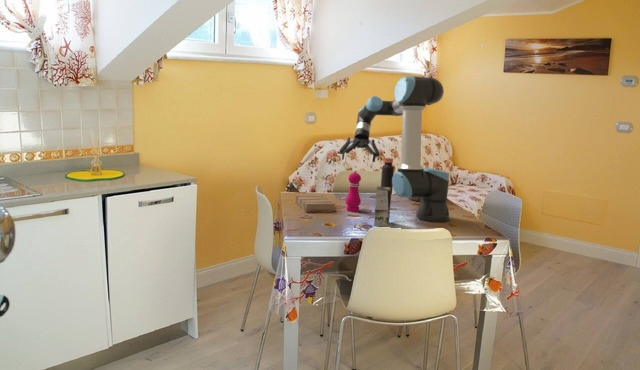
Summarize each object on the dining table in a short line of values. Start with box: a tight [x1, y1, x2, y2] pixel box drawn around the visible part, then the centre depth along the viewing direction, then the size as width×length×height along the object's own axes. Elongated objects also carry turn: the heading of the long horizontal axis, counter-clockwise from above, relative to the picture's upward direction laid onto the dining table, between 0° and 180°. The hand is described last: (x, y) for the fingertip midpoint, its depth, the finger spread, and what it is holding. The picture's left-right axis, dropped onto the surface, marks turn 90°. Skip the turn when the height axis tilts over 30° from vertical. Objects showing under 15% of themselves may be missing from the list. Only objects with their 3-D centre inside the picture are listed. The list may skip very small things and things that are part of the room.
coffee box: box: [373, 186, 393, 228], centre depth 230 cm, size 9×6×16 cm
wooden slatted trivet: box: [295, 194, 336, 213], centre depth 257 cm, size 20×14×4 cm
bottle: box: [380, 157, 395, 194], centre depth 302 cm, size 7×7×20 cm
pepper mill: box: [345, 169, 362, 213], centre depth 253 cm, size 7×7×20 cm
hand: (357, 165), depth 261 cm, fingers open, 13 cm apart
